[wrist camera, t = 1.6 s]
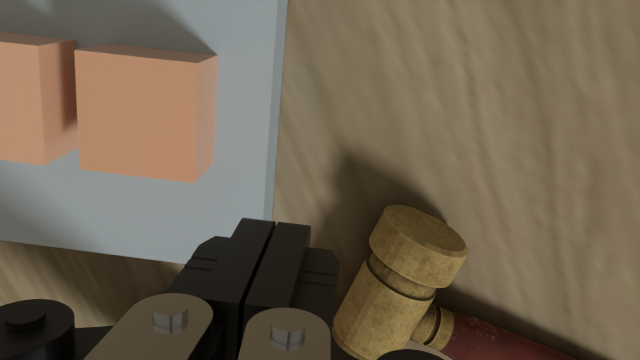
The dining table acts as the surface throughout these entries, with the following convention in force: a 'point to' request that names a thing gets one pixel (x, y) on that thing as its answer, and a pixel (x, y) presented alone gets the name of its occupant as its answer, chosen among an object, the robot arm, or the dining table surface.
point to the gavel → (419, 297)
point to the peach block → (37, 98)
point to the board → (149, 193)
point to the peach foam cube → (146, 111)
